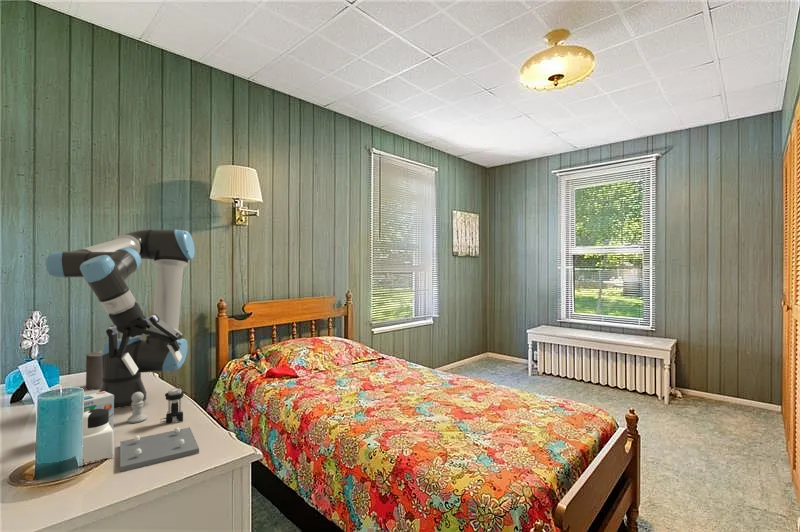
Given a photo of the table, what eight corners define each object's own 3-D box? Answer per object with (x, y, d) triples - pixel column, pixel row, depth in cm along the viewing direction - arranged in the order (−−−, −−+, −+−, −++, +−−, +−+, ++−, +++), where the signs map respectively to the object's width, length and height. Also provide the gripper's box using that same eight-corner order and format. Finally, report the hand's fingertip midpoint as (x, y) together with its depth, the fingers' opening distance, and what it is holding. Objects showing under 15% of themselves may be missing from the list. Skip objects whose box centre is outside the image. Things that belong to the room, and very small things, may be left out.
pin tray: (120, 446, 109) (120, 434, 109) (189, 431, 119) (189, 420, 119) (120, 471, 95) (120, 458, 95) (199, 452, 105) (199, 440, 105)
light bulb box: (71, 443, 111) (71, 404, 111) (61, 437, 115) (62, 400, 115) (115, 429, 120) (115, 394, 120) (104, 425, 124) (105, 390, 124)
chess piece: (135, 417, 131) (135, 389, 131) (151, 417, 130) (151, 389, 130) (123, 423, 125) (123, 394, 125) (139, 423, 125) (139, 394, 125)
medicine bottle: (108, 449, 108) (108, 404, 108) (113, 458, 102) (113, 411, 102) (74, 458, 102) (74, 411, 103) (78, 467, 97) (78, 418, 97)
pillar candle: (79, 388, 162) (80, 351, 162) (103, 382, 171) (104, 347, 171) (97, 391, 159) (97, 353, 159) (121, 384, 168) (121, 348, 168)
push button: (159, 426, 123) (159, 394, 123) (160, 421, 127) (160, 389, 127) (184, 422, 126) (184, 391, 126) (184, 417, 130) (184, 386, 130)
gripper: (70, 326, 110) (110, 385, 119) (160, 301, 111) (194, 361, 120) (85, 313, 117) (122, 369, 125) (170, 290, 118) (201, 347, 127)
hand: (157, 366), depth 123 cm, fingers open, 13 cm apart
